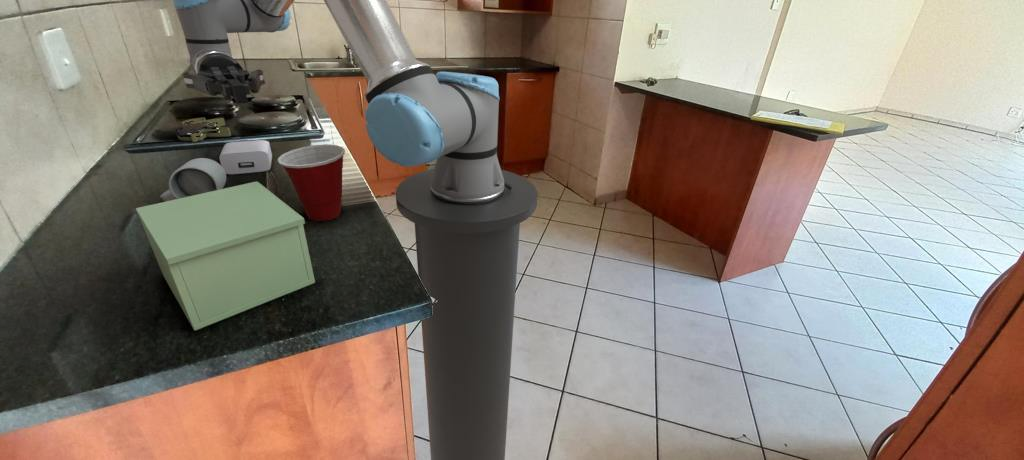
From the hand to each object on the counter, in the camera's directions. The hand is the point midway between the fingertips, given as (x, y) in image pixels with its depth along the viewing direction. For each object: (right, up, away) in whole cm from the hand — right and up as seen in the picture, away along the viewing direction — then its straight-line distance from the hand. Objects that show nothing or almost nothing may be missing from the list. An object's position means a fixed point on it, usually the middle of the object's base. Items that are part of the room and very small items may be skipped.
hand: (240, 94), depth 68 cm
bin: (+5, -29, -8) cm, 30 cm away
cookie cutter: (-43, +6, +51) cm, 67 cm away
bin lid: (+6, -20, -13) cm, 25 cm away
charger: (-19, -6, +33) cm, 38 cm away
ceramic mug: (-17, -16, +14) cm, 27 cm away
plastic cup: (+8, -19, +11) cm, 23 cm away
